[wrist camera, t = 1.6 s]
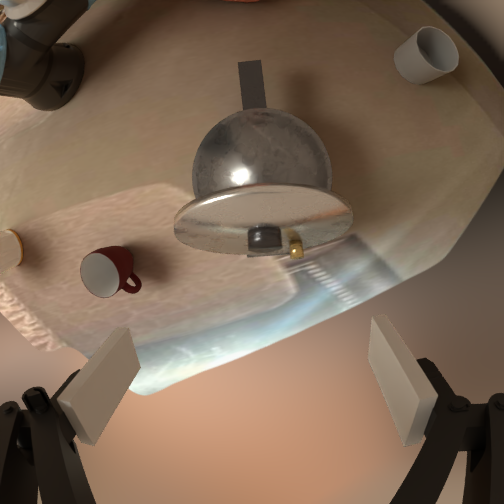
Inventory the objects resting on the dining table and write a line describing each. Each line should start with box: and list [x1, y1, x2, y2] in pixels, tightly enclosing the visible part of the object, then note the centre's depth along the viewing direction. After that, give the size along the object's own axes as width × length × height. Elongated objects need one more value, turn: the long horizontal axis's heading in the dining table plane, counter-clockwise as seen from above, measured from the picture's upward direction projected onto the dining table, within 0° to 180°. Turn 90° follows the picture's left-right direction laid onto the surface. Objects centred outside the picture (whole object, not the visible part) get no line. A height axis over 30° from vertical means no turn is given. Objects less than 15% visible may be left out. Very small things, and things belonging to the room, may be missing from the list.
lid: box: [174, 183, 353, 259], centre depth 34 cm, size 20×19×3 cm
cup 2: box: [394, 26, 459, 85], centre depth 38 cm, size 8×8×10 cm
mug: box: [80, 246, 142, 298], centre depth 52 cm, size 10×8×10 cm
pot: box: [192, 60, 332, 199], centre depth 45 cm, size 28×19×10 cm
